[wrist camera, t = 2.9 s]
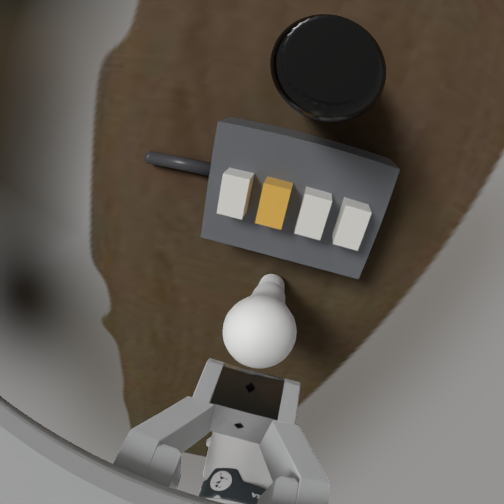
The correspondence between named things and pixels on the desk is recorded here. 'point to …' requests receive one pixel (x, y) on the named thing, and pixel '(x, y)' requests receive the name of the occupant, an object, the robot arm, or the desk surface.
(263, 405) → the robot arm
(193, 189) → the desk surface
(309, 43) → the supplement bottle
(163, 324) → the desk surface
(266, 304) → the lightbulb
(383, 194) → the breaker strip
